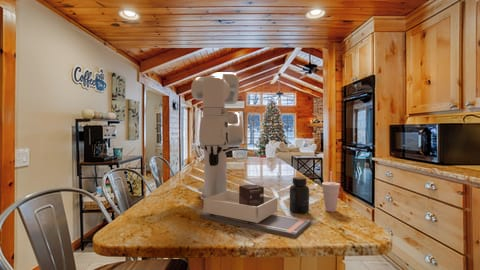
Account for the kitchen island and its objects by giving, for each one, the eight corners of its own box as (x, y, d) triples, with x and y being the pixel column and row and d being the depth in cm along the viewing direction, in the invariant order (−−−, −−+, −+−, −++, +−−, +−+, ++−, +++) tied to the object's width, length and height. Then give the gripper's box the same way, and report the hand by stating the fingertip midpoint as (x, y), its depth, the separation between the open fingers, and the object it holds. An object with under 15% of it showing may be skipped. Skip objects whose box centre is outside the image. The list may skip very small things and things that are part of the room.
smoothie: (340, 208, 104) (341, 171, 103) (339, 213, 98) (339, 173, 97) (322, 206, 106) (323, 169, 106) (320, 211, 100) (320, 172, 100)
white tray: (203, 214, 92) (203, 198, 92) (227, 204, 104) (227, 190, 104) (257, 225, 82) (257, 207, 81) (277, 213, 93) (277, 197, 93)
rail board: (199, 217, 93) (199, 214, 93) (224, 207, 105) (224, 204, 105) (295, 237, 76) (295, 233, 76) (311, 223, 87) (311, 219, 87)
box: (248, 212, 87) (248, 188, 87) (238, 207, 92) (238, 185, 92) (264, 209, 90) (264, 186, 90) (254, 205, 95) (254, 183, 95)
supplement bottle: (309, 215, 96) (309, 180, 96) (289, 213, 97) (289, 179, 97) (308, 209, 103) (308, 176, 102) (289, 208, 104) (289, 176, 104)
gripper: (237, 113, 99) (237, 165, 100) (200, 113, 104) (200, 162, 106) (228, 112, 92) (228, 168, 93) (189, 113, 98) (189, 165, 99)
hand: (213, 165), depth 99 cm, fingers closed
